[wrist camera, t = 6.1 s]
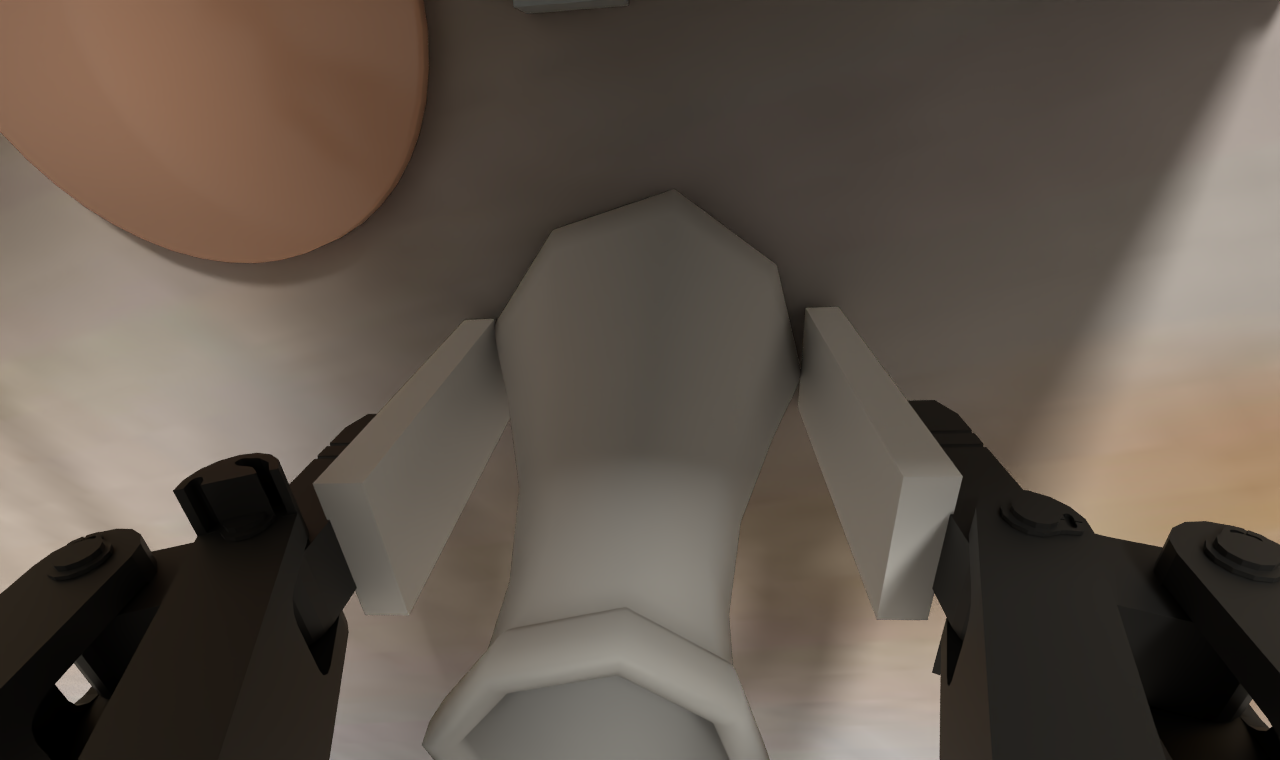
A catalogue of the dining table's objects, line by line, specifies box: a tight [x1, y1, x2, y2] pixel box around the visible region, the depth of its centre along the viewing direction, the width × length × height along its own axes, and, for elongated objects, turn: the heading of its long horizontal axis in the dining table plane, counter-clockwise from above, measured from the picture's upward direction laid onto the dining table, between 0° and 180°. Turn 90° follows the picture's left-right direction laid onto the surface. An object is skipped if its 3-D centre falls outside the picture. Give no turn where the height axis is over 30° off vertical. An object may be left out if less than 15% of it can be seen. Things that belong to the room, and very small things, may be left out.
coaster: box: [0, 0, 429, 263], centre depth 11 cm, size 10×10×1 cm
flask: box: [422, 189, 801, 760], centre depth 10 cm, size 7×7×10 cm
